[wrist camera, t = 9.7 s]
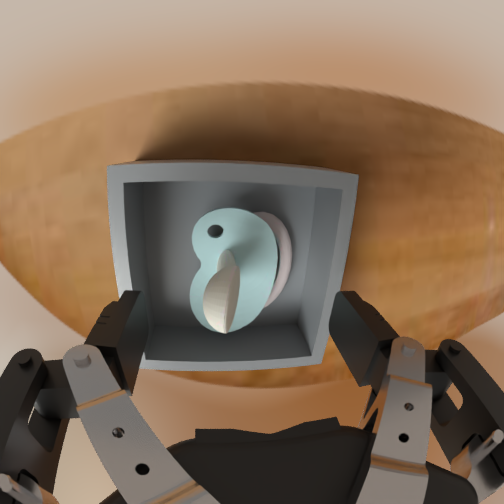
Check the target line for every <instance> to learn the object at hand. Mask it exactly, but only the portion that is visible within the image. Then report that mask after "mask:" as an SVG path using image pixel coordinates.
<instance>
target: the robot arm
mask: <svg viewBox="0 0 504 504" xmlns="http://www.w3.org/2000/svg"><path fill="white" fill-rule="evenodd" d="M329 333H330V335H331V337H332V339H333V341H334V343H335V344H336V346H337V348H338V350H339V351H340V353H341V355H342V357H343V358H344V360H345V362H346V364H347V366H348V367H349V369H350V371H351V373H352V375H353V376H354V378H355V380H356V382H357V384H358V386H359V387H361V386H366V385H371V387H372V388H371V390H370V392H369V395H368V398H367V402H366V405H365V408H364V411H363V414H362V417H361V420H360V423H359V426H358V428H356V427H351V426H340V424H339V422H338V420H337V417H332V418H327V419H322V420H316V421H310V422H304V423H302V424H299V425H296V426H293V427H291V428H288V429H285V430H282V431H279V432H276V433H272V434H265V433H257V432H249V431H243V430H236V429H195V438H194V439H189V440H185V441H182V442H179V443H177V444H174V445H172V446H170V447H168V448H165V447H164V445H163V444H162V443H161V442H160V440H159V439H158V438H157V437H156V435H155V434H154V432H153V431H152V430H151V428H150V427H149V426H148V424H147V423H146V421H145V420H144V419H143V417H142V416H141V415H140V413H139V411H138V410H137V408H136V407H135V405H134V404H133V402H132V401H131V399H130V398H129V396H132V394H133V389H134V386H135V382H136V378H137V374H138V370H139V367H140V363H141V360H142V356H143V352H144V349H145V346H146V342H147V339H148V334H149V324H148V317H147V311H146V304H145V297H144V293H143V291H137V290H125V291H124V292H123V294H122V296H121V297H120V299H119V301H118V302H117V301H113V302H111V303H110V304H109V305H107V306H106V307H105V308H104V309H103V311H102V313H101V314H100V317H99V318H98V319H97V321H96V324H95V325H94V326H93V328H92V330H91V332H90V334H89V335H88V337H87V339H86V341H85V343H84V344H83V345H78V346H75V347H73V348H71V349H69V350H68V351H67V352H66V354H65V355H64V357H63V359H61V360H50V361H44V360H43V358H42V355H41V353H40V352H39V351H37V350H35V349H24V350H21V351H19V352H17V353H16V354H15V355H14V356H13V357H12V359H11V360H10V362H9V364H8V365H7V367H6V369H5V370H4V372H3V374H2V376H1V377H0V504H59V502H58V501H57V499H56V498H55V497H54V496H53V490H54V484H55V477H56V473H57V468H58V463H59V459H60V454H61V450H62V446H63V442H64V438H65V434H66V431H67V427H68V423H69V420H70V418H81V421H82V424H83V425H84V428H85V430H86V432H87V435H88V437H89V439H90V441H91V443H92V445H93V447H94V449H95V451H96V453H97V455H98V456H99V458H100V460H101V462H102V464H103V465H104V467H105V469H106V470H107V472H108V474H109V476H110V478H111V479H112V481H113V482H114V484H115V486H116V487H117V490H116V491H115V492H113V493H112V494H111V495H110V496H108V497H107V498H106V499H104V500H103V501H102V502H101V503H99V504H479V503H480V502H481V501H483V500H484V499H485V498H487V497H488V496H490V495H491V494H493V493H494V492H496V491H497V490H498V489H500V488H501V487H502V486H504V393H503V391H502V390H501V389H500V387H499V386H498V385H497V384H496V382H495V381H494V380H493V379H492V377H491V376H490V375H489V374H488V373H487V372H486V370H485V369H484V368H483V367H482V366H481V365H480V363H479V362H478V361H477V360H476V359H475V358H474V357H473V356H472V354H471V353H470V352H469V351H468V350H467V349H466V348H465V347H464V346H463V345H462V344H461V343H459V342H457V341H455V340H451V339H446V340H443V341H442V342H441V344H440V346H439V348H438V350H425V349H424V347H423V346H422V344H421V343H420V342H418V341H417V340H415V339H412V338H409V337H400V336H399V335H398V334H397V333H396V332H395V330H394V329H393V328H392V327H391V326H390V325H389V323H388V322H387V321H386V320H385V319H384V318H383V317H382V315H380V313H379V312H378V311H377V310H376V309H375V308H374V307H373V306H372V305H370V304H369V303H367V302H365V301H363V300H362V299H361V297H360V296H359V295H358V294H357V293H356V292H355V291H338V292H337V293H336V295H335V298H334V302H333V307H332V311H331V315H330V319H329ZM452 382H453V383H454V385H455V386H456V388H457V389H458V390H459V392H460V393H461V395H462V397H463V404H462V406H461V408H460V409H459V410H458V409H457V407H456V406H455V405H454V403H453V402H452V400H451V399H450V397H449V396H448V394H447V393H446V391H447V389H448V388H449V387H450V385H451V384H452ZM33 406H34V407H35V408H34V411H33V413H32V416H31V418H30V421H29V424H28V419H29V416H30V414H31V411H32V409H33ZM430 428H431V430H432V432H433V433H434V435H435V437H436V439H437V441H438V442H439V444H440V446H441V448H442V450H443V452H444V454H445V456H446V457H447V459H448V461H449V463H450V465H451V466H450V470H451V471H448V470H446V469H443V468H441V467H439V466H436V465H434V464H432V463H430V462H427V461H426V456H427V449H428V442H429V433H430Z"/></svg>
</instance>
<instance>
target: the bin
mask: <svg viewBox="0 0 504 504" xmlns="http://www.w3.org/2000/svg"><path fill="white" fill-rule="evenodd" d="M358 178H359V175H357V174H353V173H348V172H344V171H339V170H334V169H329V168H324V167H316V166H306V165H296V164H285V163H272V162H257V161H237V160H145V161H132V162H126V163H120V164H114V165H109V166H107V188H108V209H109V223H110V234H111V244H112V252H113V260H114V267H115V274H116V281H117V287H118V293H119V298H120V297H121V296H122V294H123V292H124V291H125V290H137V291H143V293H144V297H145V304H146V311H147V317H148V324H149V334H148V339H147V342H146V346H145V349H144V352H143V356H142V360H141V363H140V367H139V368H143V369H157V370H178V371H237V370H259V369H274V368H286V367H296V366H306V365H314V364H321V362H322V358H323V355H324V351H325V348H326V344H327V341H328V337H329V319H330V315H331V311H332V307H333V302H334V298H335V295H336V293H337V292H338V291H340V287H341V283H342V278H343V273H344V268H345V263H346V258H347V252H348V247H349V241H350V235H351V229H352V223H353V217H354V210H355V203H356V195H357V187H358ZM222 207H235V208H241V209H245V210H248V211H250V212H252V213H254V212H267V213H270V214H273V215H274V216H276V217H277V218H278V219H280V220H281V221H282V223H283V224H284V226H285V227H286V229H287V231H288V234H289V237H290V240H291V246H292V262H291V269H290V273H289V276H288V280H287V282H286V284H285V286H284V288H283V290H282V291H281V293H280V294H279V295H278V297H277V298H276V299H275V300H274V301H273V302H272V303H270V304H269V305H268V306H266V307H264V308H263V309H262V310H261V312H260V313H259V315H258V316H257V317H256V318H255V319H254V320H253V321H252V322H250V323H249V324H247V325H246V326H244V327H242V328H241V329H238V330H235V331H232V332H228V333H221V332H215V331H212V330H210V329H208V328H206V327H205V326H203V325H202V324H201V323H200V322H199V321H198V320H197V318H196V317H195V315H194V313H193V311H192V308H191V304H190V288H191V284H192V281H193V279H194V277H195V275H196V273H197V272H198V270H199V269H200V268H201V261H200V259H199V258H198V257H197V255H196V253H195V251H194V248H193V245H192V233H193V229H194V226H195V224H196V223H197V222H198V220H199V219H200V218H201V217H202V216H203V215H204V214H206V213H207V212H209V211H211V210H214V209H217V208H222ZM207 231H208V233H209V234H210V235H211V236H214V237H216V236H220V235H221V234H222V233H223V228H222V227H221V226H220V225H212V226H210V227H209V228H208V230H207ZM277 256H278V251H277ZM277 261H278V259H277Z"/></svg>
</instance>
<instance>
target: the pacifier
mask: <svg viewBox="0 0 504 504" xmlns="http://www.w3.org/2000/svg"><path fill="white" fill-rule="evenodd" d="M212 225H220V226H221V227H222V228H223V233H222V234H221V235H220V236H216V237H214V236H211V235H210V234H209V233H208V231H207V230H208V228H209V227H210V226H212ZM192 245H193V248H194V251H195V253H196V255H197V257H198V258H199V259H200V261H201V268H200V269H199V270H198V272H197V273H196V275H195V277H194V279H193V281H192V284H191V288H190V304H191V308H192V311H193V313H194V315H195V317H196V318H197V320H198V321H199V322H200V323H201V324H202V325H203V326H205V327H206V328H208V329H210V330H212V331H215V332H221V333H228V332H232V331H235V330H238V329H241V328H242V327H244V326H246V325H247V324H249V323H250V322H252V321H253V320H254V319H255V318H256V317H257V316H258V315H259V313H260V312H261V310H262V309H263V308H264V307H266V306H268V305H269V304H270V303H272V302H273V301H274V300H275V299H276V298H277V297H278V295H279V294H280V293H281V291H282V290H283V288H284V286H285V284H286V282H287V280H288V276H289V273H290V269H291V262H292V246H291V240H290V237H289V234H288V231H287V229H286V227H285V226H284V224H283V223H282V221H281V220H280V219H278V218H277V217H276V216H274V215H273V214H270V213H267V212H254V213H252V212H250V211H248V210H245V209H241V208H235V207H222V208H217V209H214V210H211V211H209V212H207V213H206V214H204V215H203V216H202V217H201V218H200V219H199V220H198V222H197V223H196V224H195V226H194V229H193V233H192ZM277 251H278V256H277ZM277 259H278V261H277Z"/></svg>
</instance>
